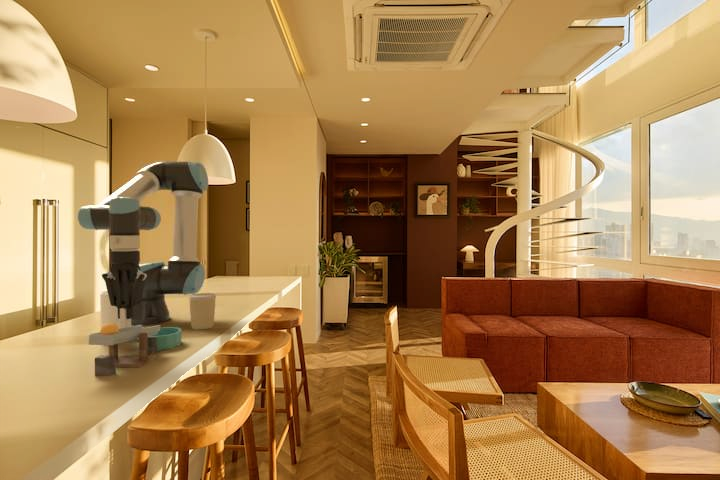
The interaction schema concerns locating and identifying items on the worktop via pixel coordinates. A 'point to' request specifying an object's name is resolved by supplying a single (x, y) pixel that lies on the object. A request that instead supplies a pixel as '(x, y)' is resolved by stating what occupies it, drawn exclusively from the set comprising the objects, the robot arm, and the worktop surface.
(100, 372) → the stand
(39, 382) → the worktop surface
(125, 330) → the lever
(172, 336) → the dish
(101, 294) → the cup
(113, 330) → the ball
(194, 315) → the coffee cup
